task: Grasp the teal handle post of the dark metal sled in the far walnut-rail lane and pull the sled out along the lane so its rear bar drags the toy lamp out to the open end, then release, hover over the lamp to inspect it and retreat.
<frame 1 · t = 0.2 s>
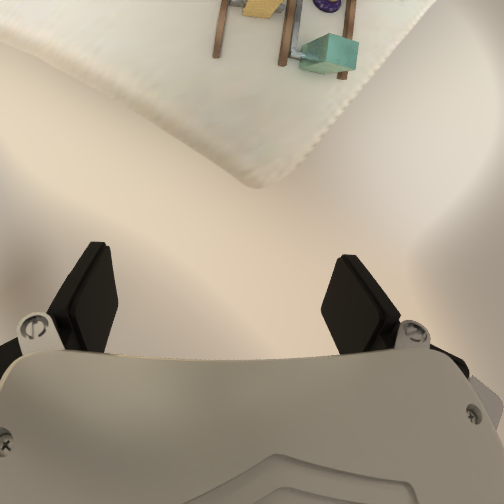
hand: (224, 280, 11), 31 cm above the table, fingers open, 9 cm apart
toy lamp: (323, 0, 27), on the table
lane rails: (288, 11, 28), on the table
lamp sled: (330, 11, 25), point 5 cm above the table, slide at 0.0 cm
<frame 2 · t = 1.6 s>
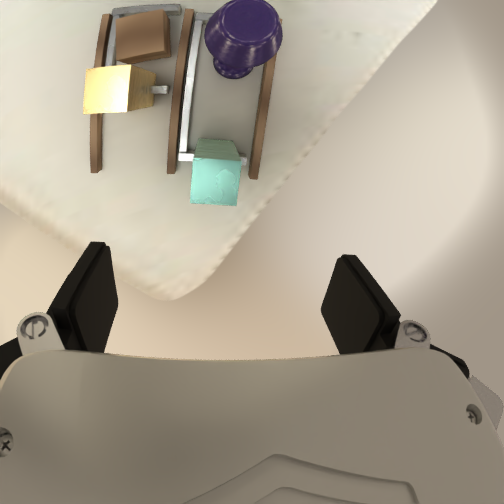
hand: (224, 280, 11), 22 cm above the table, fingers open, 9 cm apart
toy lamp: (230, 59, 24), on the table
walnut cube: (149, 41, 22), on the table
lane rails: (179, 89, 25), on the table
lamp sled: (221, 92, 22), point 5 cm above the table, slide at 0.0 cm
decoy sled: (127, 49, 18), point 5 cm above the table, slide at 0.0 cm
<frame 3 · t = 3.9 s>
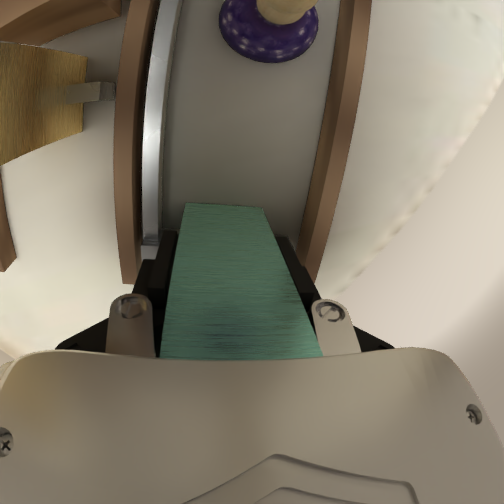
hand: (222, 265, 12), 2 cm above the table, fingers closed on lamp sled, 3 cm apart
toy lamp: (260, 19, 9), on the table
lane rails: (136, 88, 10), on the table
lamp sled: (247, 93, 7), point 5 cm above the table, slide at 0.0 cm, touching gripper
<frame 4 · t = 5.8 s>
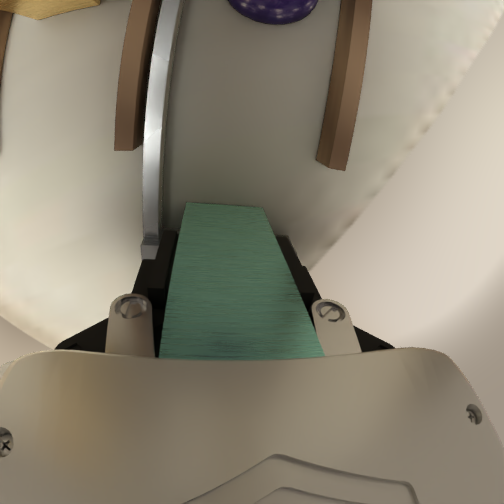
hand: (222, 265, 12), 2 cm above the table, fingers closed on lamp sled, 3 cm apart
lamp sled: (248, 91, 7), point 5 cm above the table, slide at 6.4 cm, touching gripper
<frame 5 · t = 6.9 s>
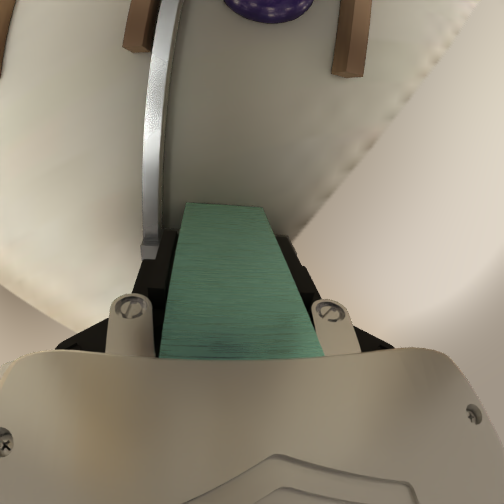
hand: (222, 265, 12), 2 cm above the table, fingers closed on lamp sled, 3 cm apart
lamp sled: (247, 91, 7), point 5 cm above the table, slide at 10.7 cm, touching gripper, toy lamp
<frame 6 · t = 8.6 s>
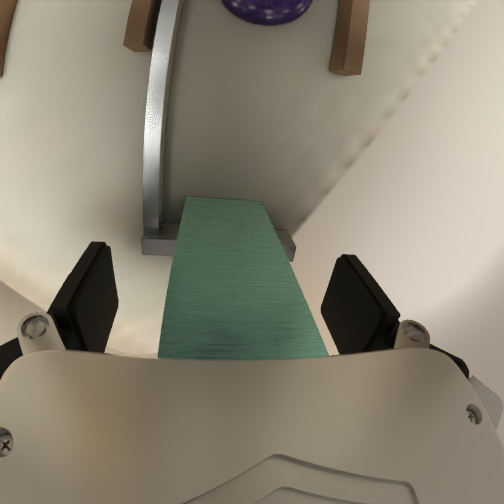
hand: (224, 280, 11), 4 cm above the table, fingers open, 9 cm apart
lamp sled: (247, 85, 7), point 5 cm above the table, slide at 10.6 cm
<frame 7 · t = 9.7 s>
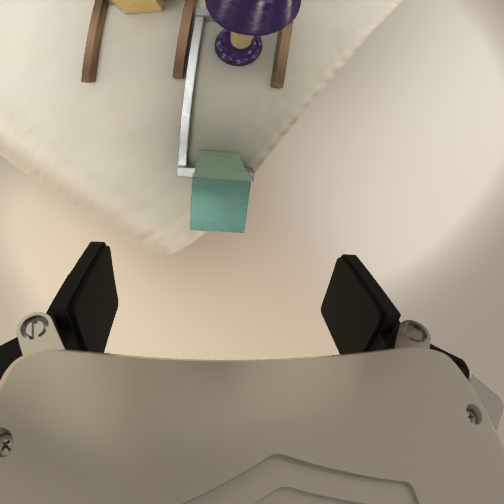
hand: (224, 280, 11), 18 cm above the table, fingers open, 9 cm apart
toy lamp: (234, 44, 21), on the table
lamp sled: (225, 98, 19), point 5 cm above the table, slide at 10.6 cm
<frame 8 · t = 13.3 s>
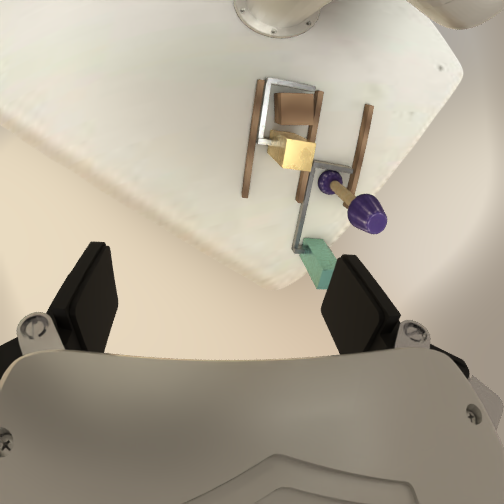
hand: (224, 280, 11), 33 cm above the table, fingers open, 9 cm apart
toy lamp: (327, 180, 45), on the table
walnut cube: (289, 107, 38), on the table
lane rails: (307, 146, 41), on the table
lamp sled: (329, 224, 43), point 5 cm above the table, slide at 10.6 cm
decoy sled: (292, 120, 35), point 5 cm above the table, slide at 0.0 cm
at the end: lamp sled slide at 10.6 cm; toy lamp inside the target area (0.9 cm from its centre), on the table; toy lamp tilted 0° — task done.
